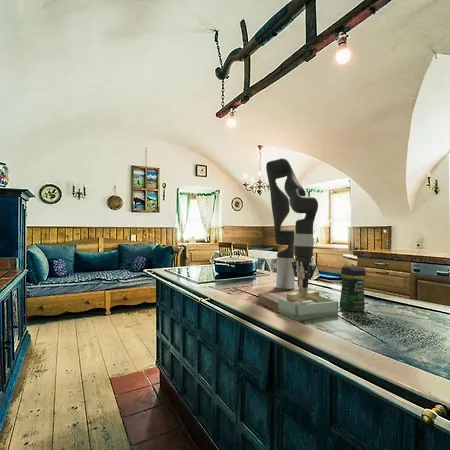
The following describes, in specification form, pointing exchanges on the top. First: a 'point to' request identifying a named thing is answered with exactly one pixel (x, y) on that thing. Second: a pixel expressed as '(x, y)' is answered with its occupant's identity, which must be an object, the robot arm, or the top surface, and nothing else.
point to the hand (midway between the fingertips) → (302, 286)
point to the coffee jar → (352, 288)
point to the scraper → (302, 292)
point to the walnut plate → (273, 299)
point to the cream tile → (307, 302)
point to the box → (308, 309)
